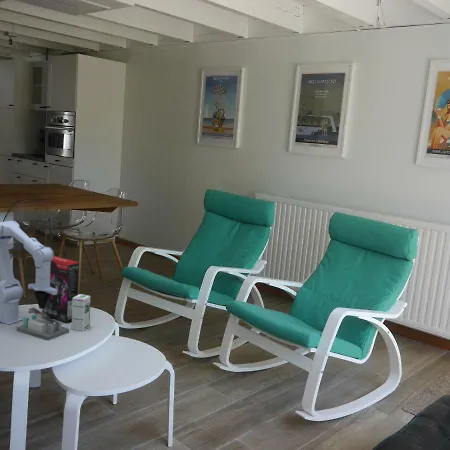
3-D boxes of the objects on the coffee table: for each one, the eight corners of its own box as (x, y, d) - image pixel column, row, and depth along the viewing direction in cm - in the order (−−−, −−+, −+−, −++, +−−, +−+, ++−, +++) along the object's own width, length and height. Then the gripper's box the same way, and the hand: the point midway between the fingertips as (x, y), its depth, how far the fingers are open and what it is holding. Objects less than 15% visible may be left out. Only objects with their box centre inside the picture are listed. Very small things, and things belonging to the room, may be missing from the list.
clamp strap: (27, 312, 222) (29, 308, 222) (32, 311, 225) (34, 306, 224) (52, 328, 217) (53, 323, 216) (57, 327, 219) (58, 322, 219)
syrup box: (83, 331, 226) (85, 298, 224) (71, 329, 227) (72, 297, 225) (89, 327, 231) (91, 295, 229) (77, 325, 232) (78, 293, 230)
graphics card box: (40, 315, 241) (42, 257, 237) (52, 311, 247) (54, 255, 243) (66, 324, 233) (68, 264, 229) (78, 320, 239) (80, 261, 235)
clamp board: (16, 330, 221) (16, 318, 220) (38, 322, 231) (38, 311, 231) (48, 340, 213) (48, 327, 212) (69, 332, 223) (69, 320, 223)
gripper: (22, 275, 218) (22, 306, 220) (48, 281, 211) (47, 314, 213) (35, 272, 224) (35, 302, 226) (61, 278, 218) (60, 309, 220)
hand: (42, 308), depth 220 cm, fingers closed
